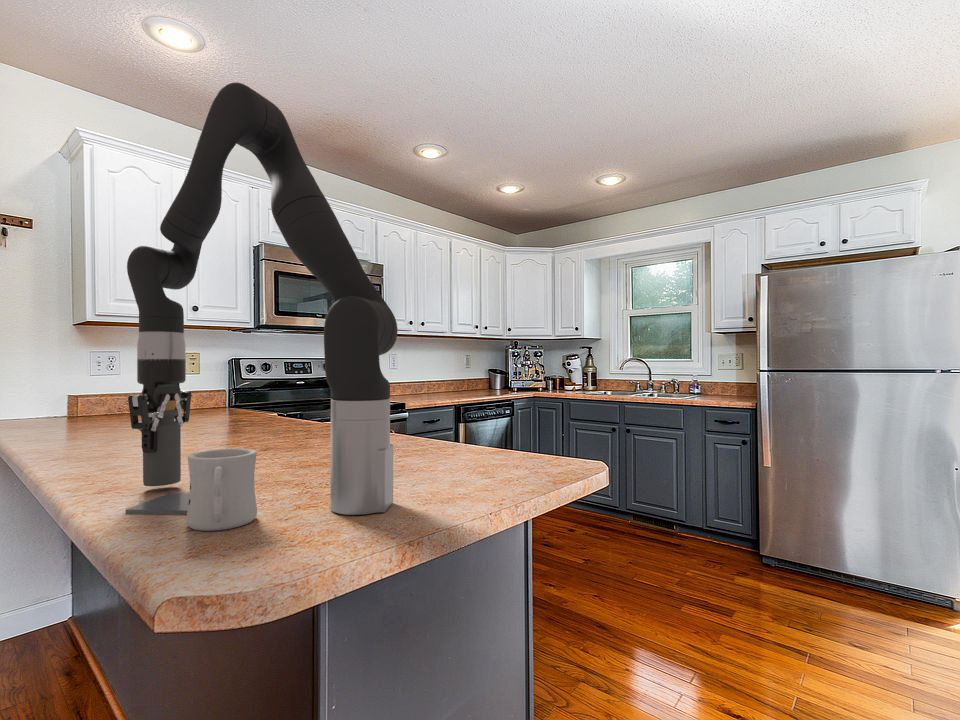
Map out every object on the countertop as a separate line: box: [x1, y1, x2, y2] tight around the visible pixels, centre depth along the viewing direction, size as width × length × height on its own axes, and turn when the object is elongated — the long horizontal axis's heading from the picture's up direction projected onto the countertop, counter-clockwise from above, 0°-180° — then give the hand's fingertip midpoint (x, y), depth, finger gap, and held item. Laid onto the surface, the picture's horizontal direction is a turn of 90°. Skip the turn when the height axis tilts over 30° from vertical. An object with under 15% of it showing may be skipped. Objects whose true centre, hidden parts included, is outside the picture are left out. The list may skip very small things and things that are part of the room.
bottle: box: [142, 400, 182, 487], centre depth 93 cm, size 6×6×15 cm
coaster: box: [125, 492, 190, 515], centre depth 82 cm, size 10×10×1 cm
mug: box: [186, 448, 258, 532], centre depth 72 cm, size 12×9×10 cm
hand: (162, 449), depth 93 cm, fingers closed on bottle, 5 cm apart
